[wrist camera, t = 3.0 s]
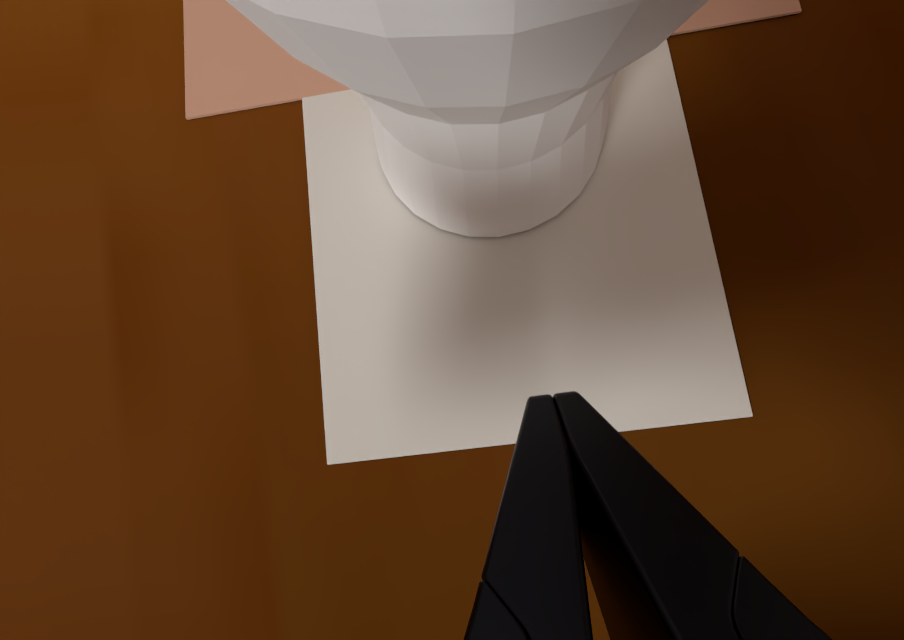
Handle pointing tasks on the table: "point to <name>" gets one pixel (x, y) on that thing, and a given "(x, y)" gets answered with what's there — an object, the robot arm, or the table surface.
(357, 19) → the white vase
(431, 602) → the table surface
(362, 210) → the t mat
